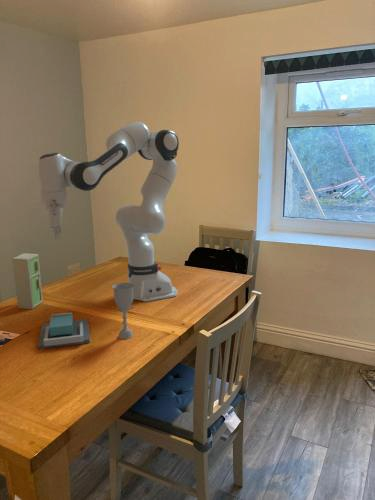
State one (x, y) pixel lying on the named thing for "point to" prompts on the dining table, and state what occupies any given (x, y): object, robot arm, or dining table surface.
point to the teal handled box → (61, 324)
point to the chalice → (124, 305)
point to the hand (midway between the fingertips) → (58, 235)
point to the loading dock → (65, 335)
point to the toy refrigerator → (27, 280)
